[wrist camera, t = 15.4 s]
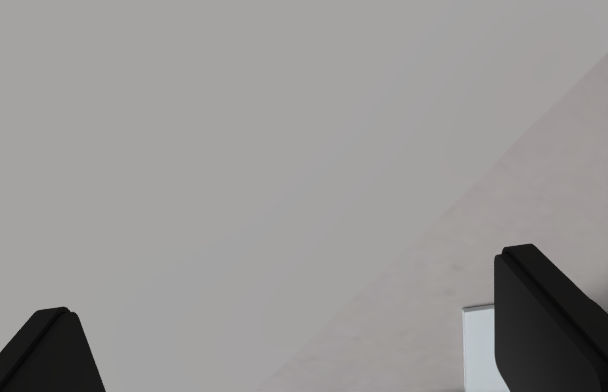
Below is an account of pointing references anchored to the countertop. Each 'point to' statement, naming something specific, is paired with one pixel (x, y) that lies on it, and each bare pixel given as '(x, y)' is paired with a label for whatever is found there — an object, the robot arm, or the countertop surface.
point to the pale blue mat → (480, 351)
